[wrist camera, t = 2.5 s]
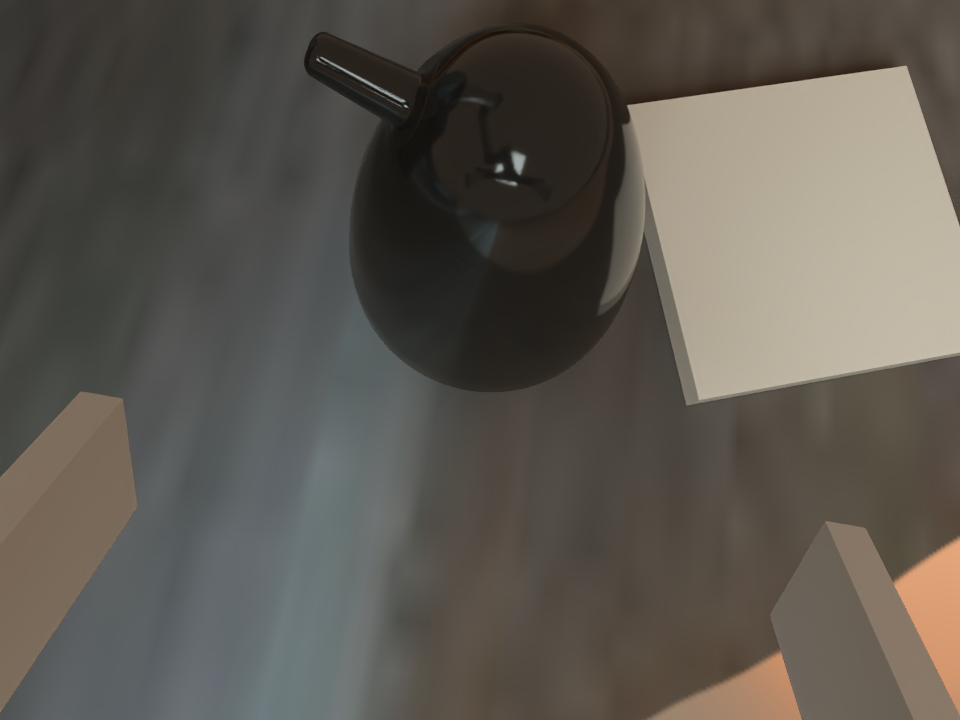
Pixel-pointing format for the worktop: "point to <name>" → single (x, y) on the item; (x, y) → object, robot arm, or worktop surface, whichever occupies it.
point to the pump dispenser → (491, 203)
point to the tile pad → (798, 232)
